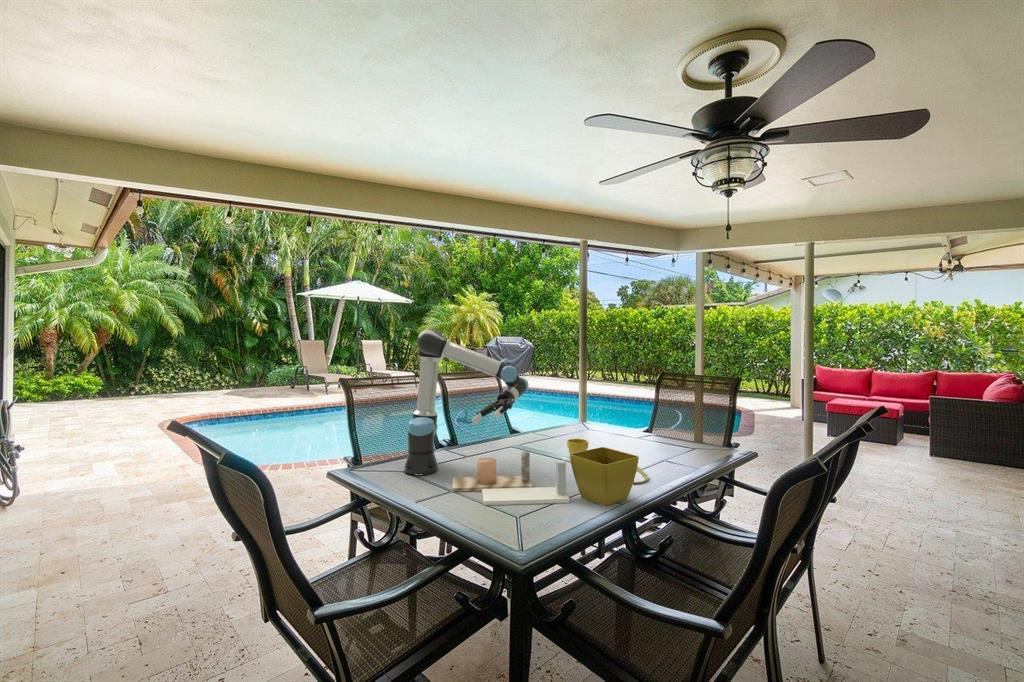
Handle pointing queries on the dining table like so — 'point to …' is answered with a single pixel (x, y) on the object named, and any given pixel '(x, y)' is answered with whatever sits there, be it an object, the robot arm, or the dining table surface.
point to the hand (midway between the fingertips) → (484, 419)
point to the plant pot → (577, 445)
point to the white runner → (530, 492)
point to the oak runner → (502, 481)
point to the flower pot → (604, 474)
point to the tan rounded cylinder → (486, 471)
